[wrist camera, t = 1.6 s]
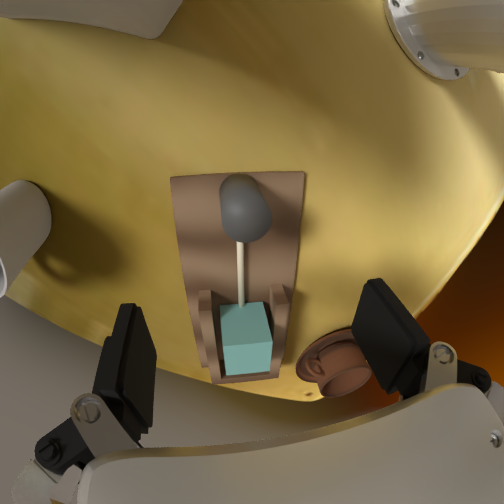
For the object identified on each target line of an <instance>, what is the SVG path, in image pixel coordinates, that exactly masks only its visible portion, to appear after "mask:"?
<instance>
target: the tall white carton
mask: <svg viewBox="0 0 504 504" xmlns="http://www.w3.org/2000/svg"><path fill="white" fill-rule="evenodd" d="M182 2H183V0H0V17H2V18H8V19H12V18H20V19H44V20H56V21H65V22H72V23H79V24H86V25H91V26H97V27H102V28H107V29H111V30H116V31H120V32H124V33H128V34H132V35H135V36H139V37H143V38H146V39H154V38H156V37H159V36H160V35H161V34H162V33H163V31H164V29H165V28H166V26H167V25H168V23H169V22H170V20H171V18H172V17H173V15H174V14H175V12H176V11H177V10H178V8H179V7H180V5H181V4H182Z"/></svg>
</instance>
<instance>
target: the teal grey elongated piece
mask: <svg viewBox="0 0 504 504" xmlns="http://www.w3.org/2000/svg"><path fill="white" fill-rule="evenodd" d="M219 197H220V208H221V219H222V227H223V229H224V231H225V233H226V234H227V236H229V237H230V238H231V239H233V240H235V241H237V272H238V302H239V304H229V305H220V318H221V330H222V343H223V352H224V360H225V368H226V375H237V374H248V373H257V372H265V371H270V364H271V354H272V343H273V341H272V337H271V333H270V329H269V325H268V321H267V317H266V313H265V309H264V305H263V302H253V303H244V243H250V242H254V241H257V240H259V239H260V238H262V237H263V236H264V235H265V234H266V233H267V232H268V231H269V229H270V227H271V224H272V213H271V211H270V209H269V207H268V205H267V203H266V201H265V199H264V197H263V195H262V193H261V191H260V189H259V187H258V185H257V183H256V181H255V180H254V179H253V178H252V177H251V176H249V175H247V174H243V173H236V174H232V175H230V176H228V177H227V178H226V179H224V181H223V182H222V183H221V186H220V189H219Z"/></svg>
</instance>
